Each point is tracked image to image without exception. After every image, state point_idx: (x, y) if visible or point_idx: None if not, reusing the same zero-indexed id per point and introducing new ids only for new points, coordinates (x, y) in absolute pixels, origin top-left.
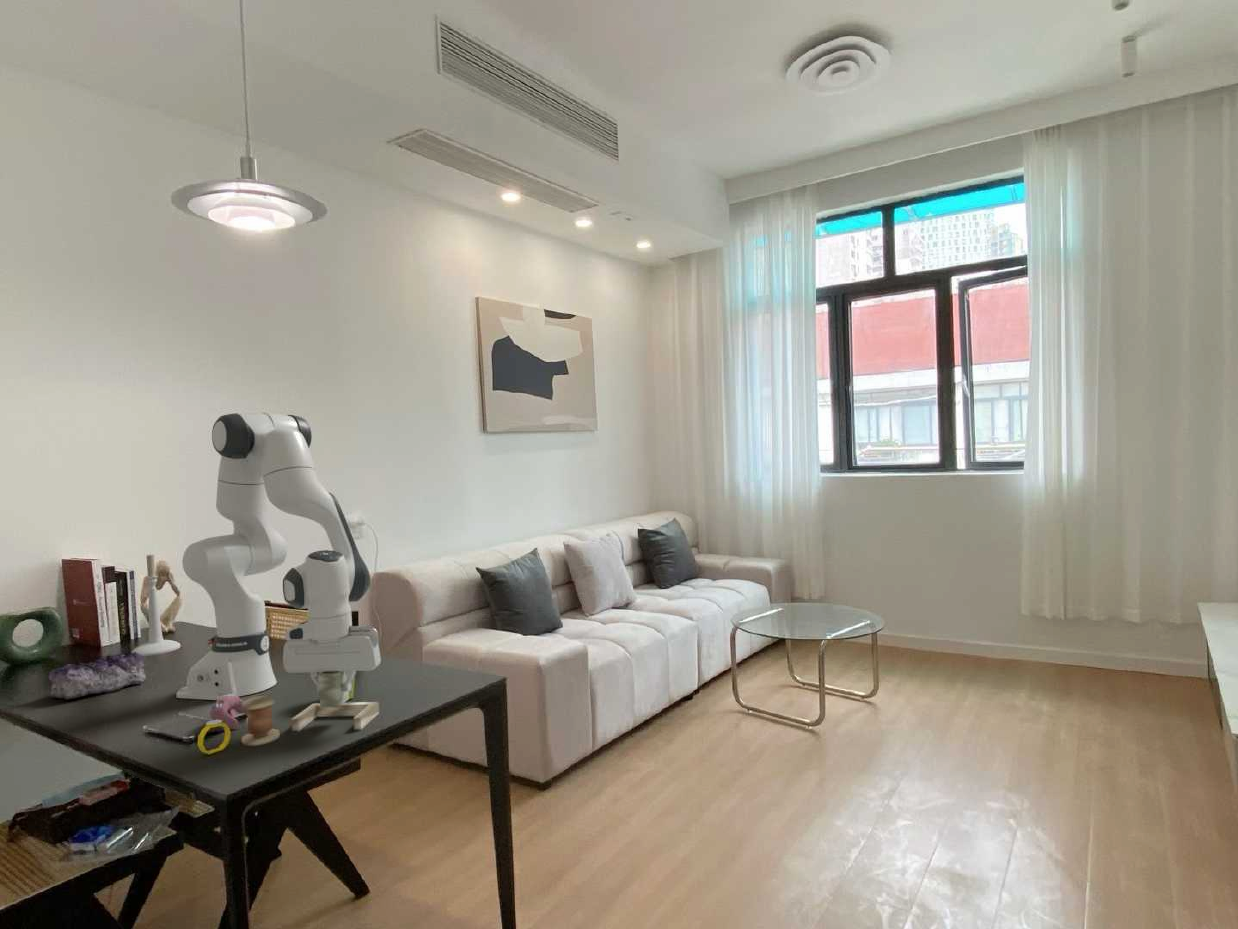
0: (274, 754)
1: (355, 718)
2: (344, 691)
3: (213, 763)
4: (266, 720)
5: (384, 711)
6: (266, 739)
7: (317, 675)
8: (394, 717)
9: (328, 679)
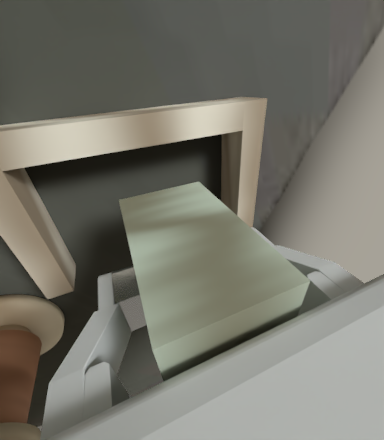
0: None
1: None
2: None
3: (38, 398)
4: (34, 380)
5: (253, 75)
6: (59, 339)
7: (126, 395)
8: (288, 130)
9: None
